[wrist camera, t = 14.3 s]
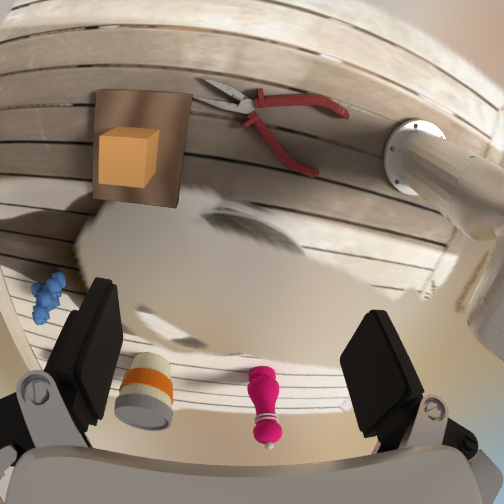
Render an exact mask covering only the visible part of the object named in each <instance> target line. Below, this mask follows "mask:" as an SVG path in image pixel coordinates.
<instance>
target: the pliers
mask: <svg viewBox="0 0 504 504" xmlns="http://www.w3.org/2000/svg"><path fill="white" fill-rule="evenodd" d="M200 78H202V79H204V80H205V81H207V82H209V83H210V84H212V85H214V86H215V87H217V88H219V89H220V90H222V91H224V92H225V93H227V94H228V95H230V96H232V97H234V98H235V99H237V100H238V101H240V103H239V104H233V103H229V102H227V101H222V100H216V99H209V98H203V97H196V96H192V97H193V98H196V99H198V100H201V101H203V102H206V103H208V104H211V105H213V106H216V107H218V108H221V109H225V110H230V111H235V112H240V113H245V114H247V115H246V117H247V118H248V119H246V120H245V121H244V122H242V123H241V125H242V127H243V128H244V129H245V128H247V127H249V126H250V125H251V124H252V125H253V127H254V128H255V129H256V130H257V132H258V133H259V134H260V135H261V137H262V138H263V139H264V141H265V142H266V143H267V144H268V146H269V147H270V148H271V150H272V151H273V152H274V154H275V155H276V156H277V157H278V159H279V160H280V161H281V162H282V163H283V164H284V165H285V166H286V167H288V168H289V169H291V170H293V171H296V172H299V173H301V174H304V175H306V176H309V177H316V176H318V174H319V171H318V170H317V169H314V168H312V167H310V166H307V165H305V164H303V163H300V162H298V161H296V160H294V159H293V158H292V157H290V156H289V155H288V154H287V153H286V152H285V151H284V149H283V148H282V147H281V145H280V144H279V143H278V141H277V140H276V139H275V137H274V136H273V135H272V133H271V132H270V131H269V129H268V128H267V127H266V125H265V124H264V123H263V122H262V120H261V119H260V118H259V116H258V115H257V114H256V113H255V111H254V109H255V108H263V107H275V106H292V105H319V106H323V107H326V108H328V109H330V110H331V111H333V112H335V113H336V114H338V115H340V116H341V117H343V118H345V119H347V120H348V118H349V113H348V111H347V110H346V109H345V108H344V107H342V106H340V105H339V104H337V103H336V102H334V101H332V100H331V99H329V98H327V97H324V96H320V95H312V94H299V95H278V96H264V94H263V89H262V88H261V89H257V97H258V98H254V100H252V99H250V98H248V97H247V96H245V95H243V94H242V93H240V92H239V91H237V90H235V89H234V88H232V87H230V86H228V85H225V84H222V83H219V82H216V81H213V80H210V79H207V78H203V77H200Z"/></svg>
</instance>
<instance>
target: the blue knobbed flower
mask: <svg viewBox="0 0 504 504" xmlns="http://www.w3.org/2000/svg"><path fill="white" fill-rule="evenodd" d="M64 287H66V279H65V275H64V274H63V273H62V272H56V273H53V274H52V278H50V279H48V280H46V283H45V285H44V286H43V285H42V284H41V283H36V284H33V285H31V290H32V294H33V296H34V297H35V298H36V305H35V306H33V311H34V312H32V316H33V320H34V322H35V323H36V324H37V325H42V324H44V323H47V320H48V319H50V316H49V311H50V310H53V309H55V307H57V306H59V305H60V302H59V298H58V297H61V296H62V295H61V291H62V290H61V288H64Z"/></svg>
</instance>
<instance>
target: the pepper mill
mask: <svg viewBox="0 0 504 504" xmlns="http://www.w3.org/2000/svg"><path fill="white" fill-rule="evenodd" d="M275 379H276V376H275V371H274V370H273V369H272V368H270V367H266V366H261V367H256V368H254V369H252V370H251V371H250V372H249V381H250V383H249V384H248V394H249V397H250V398H251V400H252V402H253V404H254V406H255V408H256V417H255V424H256V426H255V427H254V430H253V434H254V437H255V439H256V440H257V441H258V442H260V443H263V444H265V448H266V449H269V450H270V449H272V448H273V443H275V442H277V441H278V440H279V439H280V438H281V435H282V428H281V426H280V425H279V424H278V416H277V415H276V413H275V403H276V400H277V397H278V394H279V384H278V382H277V381H276V380H275Z"/></svg>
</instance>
